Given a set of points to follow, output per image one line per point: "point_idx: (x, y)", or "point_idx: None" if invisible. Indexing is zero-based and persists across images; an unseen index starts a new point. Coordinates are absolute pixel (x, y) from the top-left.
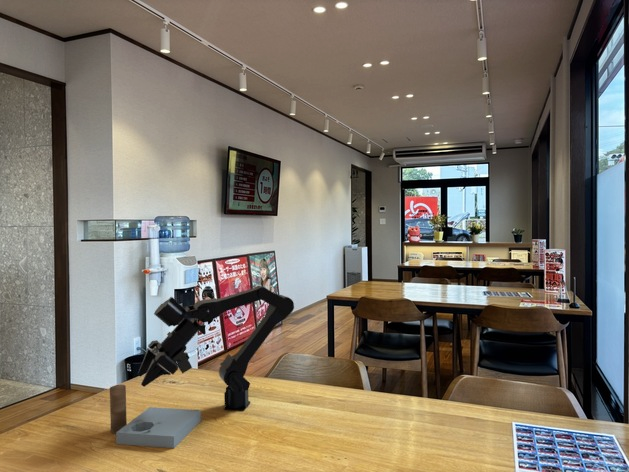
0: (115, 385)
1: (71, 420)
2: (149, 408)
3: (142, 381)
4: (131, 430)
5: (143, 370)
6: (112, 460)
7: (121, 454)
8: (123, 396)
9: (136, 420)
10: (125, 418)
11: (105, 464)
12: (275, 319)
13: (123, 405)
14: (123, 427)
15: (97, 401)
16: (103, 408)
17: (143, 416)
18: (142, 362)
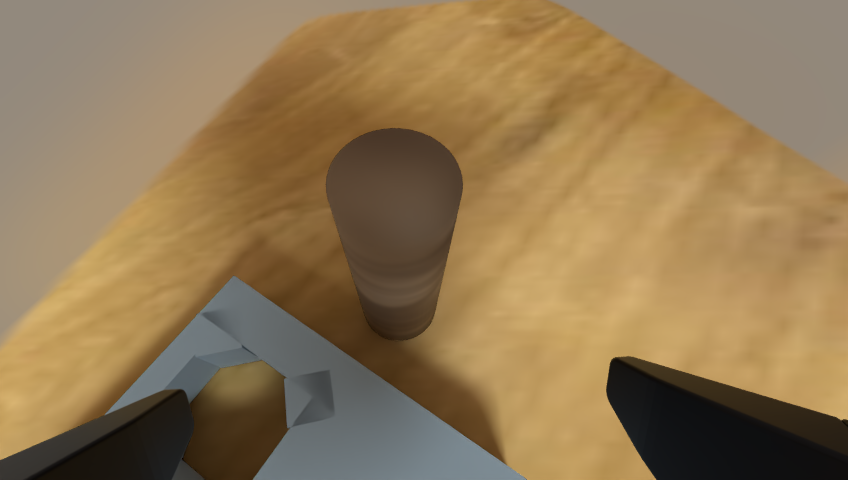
0: (455, 165)
1: (595, 132)
2: (502, 477)
3: (145, 403)
4: (205, 351)
5: (664, 436)
6: (112, 282)
7: (141, 317)
8: (353, 256)
9: (334, 382)
10: (376, 318)
11: (98, 258)
12: None
13: (356, 280)
14: (274, 310)
15: (800, 210)
16: (705, 236)
17: (376, 428)
18: (815, 418)
